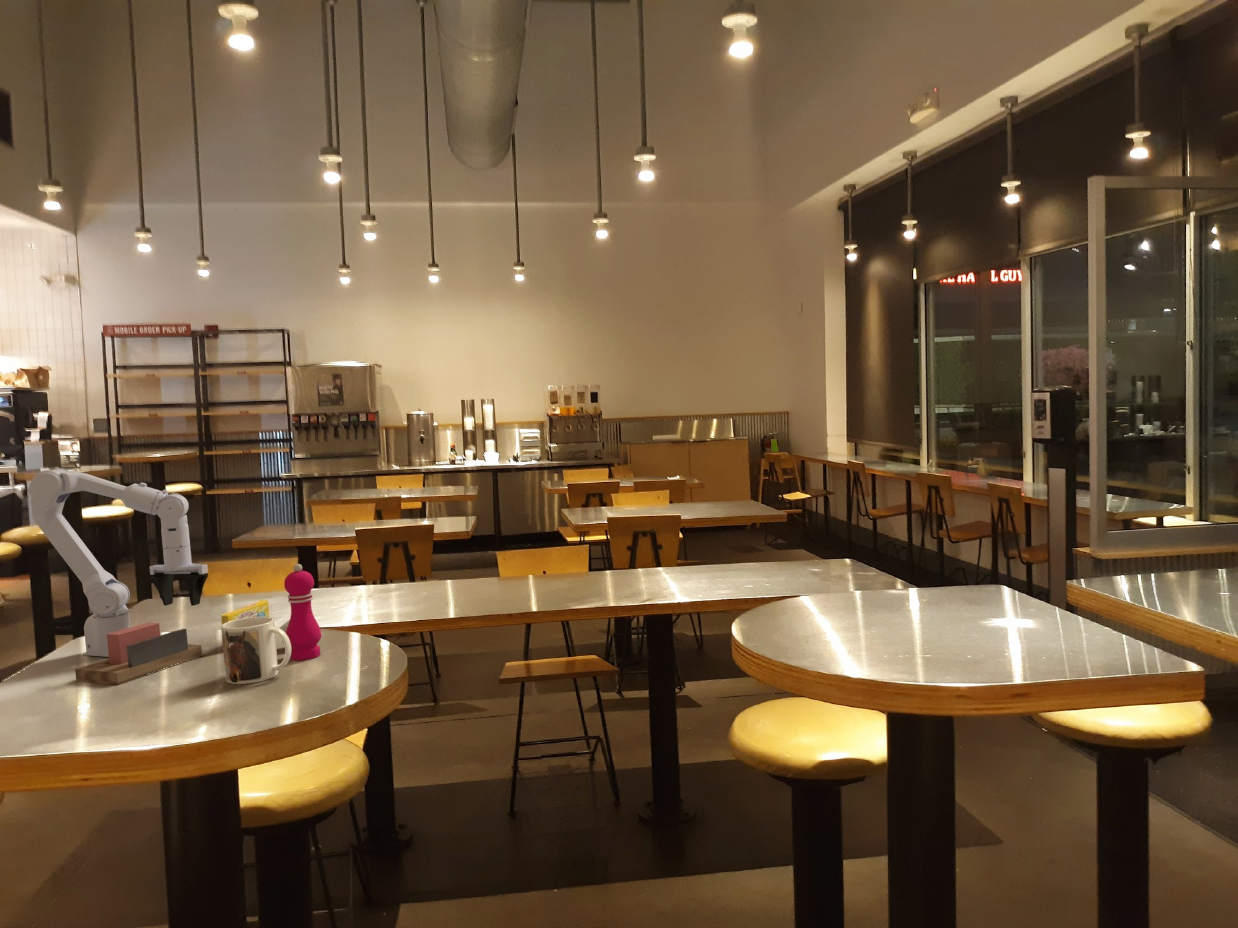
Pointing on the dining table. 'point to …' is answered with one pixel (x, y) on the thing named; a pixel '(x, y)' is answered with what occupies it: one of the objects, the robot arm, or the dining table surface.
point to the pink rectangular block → (129, 640)
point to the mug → (252, 649)
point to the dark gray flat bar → (157, 647)
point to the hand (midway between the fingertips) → (181, 604)
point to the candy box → (247, 612)
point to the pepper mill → (302, 616)
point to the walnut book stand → (123, 673)
